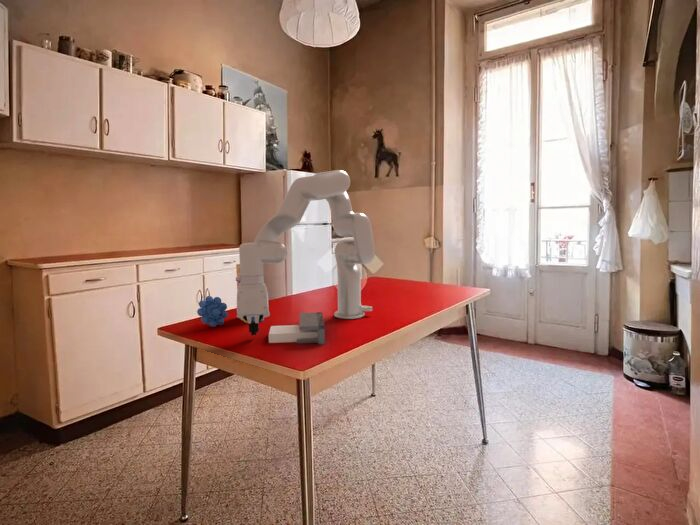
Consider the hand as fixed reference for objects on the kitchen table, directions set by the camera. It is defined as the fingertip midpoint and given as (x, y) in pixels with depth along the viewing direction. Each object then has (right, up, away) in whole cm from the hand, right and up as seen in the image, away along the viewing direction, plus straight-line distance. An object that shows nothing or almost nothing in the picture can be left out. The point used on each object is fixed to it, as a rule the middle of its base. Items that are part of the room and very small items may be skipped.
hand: (254, 334), depth 133 cm
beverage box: (-8, +1, +26) cm, 28 cm away
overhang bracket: (+19, -1, +2) cm, 19 cm away
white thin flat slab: (+13, -2, +2) cm, 13 cm away
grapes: (-19, 0, +15) cm, 24 cm away
